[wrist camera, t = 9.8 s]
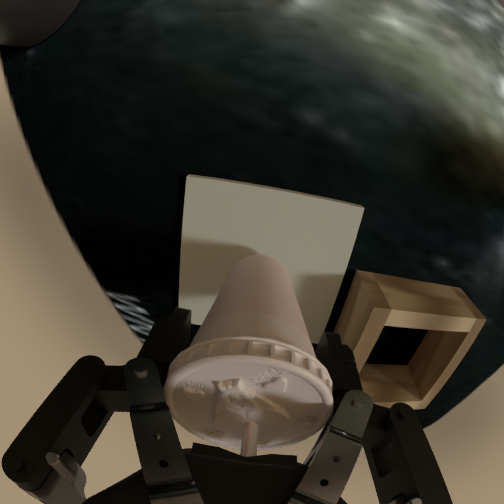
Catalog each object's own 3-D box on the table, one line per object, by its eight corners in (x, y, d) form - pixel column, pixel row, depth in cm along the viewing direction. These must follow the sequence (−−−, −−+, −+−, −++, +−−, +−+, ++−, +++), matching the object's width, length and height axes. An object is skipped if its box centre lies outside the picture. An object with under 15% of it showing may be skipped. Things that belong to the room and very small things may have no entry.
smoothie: (227, 330, 20) (187, 531, 7) (192, 248, 18) (79, 470, 5) (319, 310, 19) (351, 528, 6) (298, 220, 16) (343, 484, 4)
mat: (180, 315, 22) (178, 320, 22) (189, 174, 18) (186, 175, 17) (318, 338, 22) (319, 343, 22) (361, 205, 18) (364, 208, 17)
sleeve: (317, 369, 24) (322, 409, 20) (356, 269, 20) (374, 307, 16) (411, 373, 24) (425, 408, 20) (460, 287, 20) (486, 319, 16)
